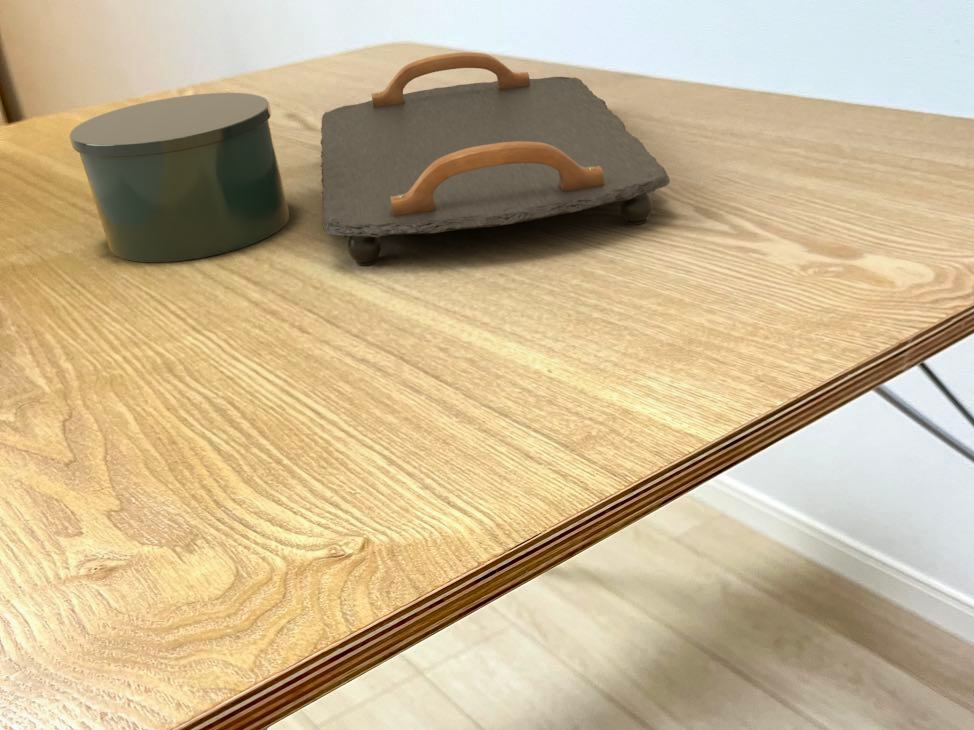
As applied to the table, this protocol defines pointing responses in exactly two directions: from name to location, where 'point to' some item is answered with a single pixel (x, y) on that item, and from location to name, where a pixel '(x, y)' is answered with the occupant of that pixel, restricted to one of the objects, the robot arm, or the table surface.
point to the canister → (184, 176)
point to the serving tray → (476, 156)
